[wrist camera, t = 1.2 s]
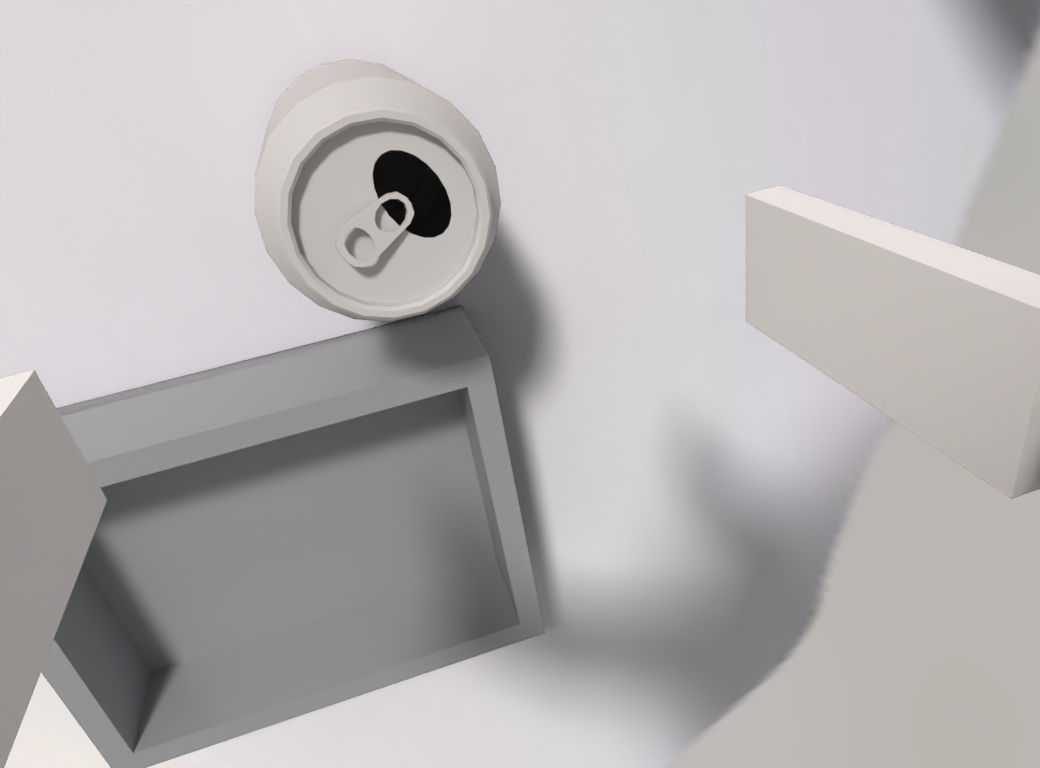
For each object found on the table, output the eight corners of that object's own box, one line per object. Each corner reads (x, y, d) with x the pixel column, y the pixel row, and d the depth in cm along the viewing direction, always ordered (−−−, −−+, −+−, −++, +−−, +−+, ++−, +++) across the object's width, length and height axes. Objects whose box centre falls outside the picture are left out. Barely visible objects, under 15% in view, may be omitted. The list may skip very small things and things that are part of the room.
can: (476, 169, 33) (560, 240, 22) (349, 271, 33) (373, 386, 23) (368, 17, 29) (408, 18, 18) (225, 135, 29) (187, 200, 19)
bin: (461, 305, 35) (489, 355, 30) (515, 560, 44) (544, 632, 38) (-19, 427, 32) (-79, 507, 27) (140, 679, 40) (117, 777, 35)
